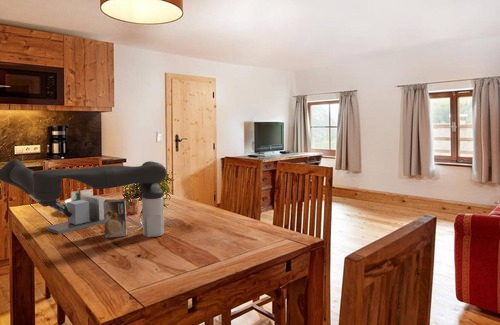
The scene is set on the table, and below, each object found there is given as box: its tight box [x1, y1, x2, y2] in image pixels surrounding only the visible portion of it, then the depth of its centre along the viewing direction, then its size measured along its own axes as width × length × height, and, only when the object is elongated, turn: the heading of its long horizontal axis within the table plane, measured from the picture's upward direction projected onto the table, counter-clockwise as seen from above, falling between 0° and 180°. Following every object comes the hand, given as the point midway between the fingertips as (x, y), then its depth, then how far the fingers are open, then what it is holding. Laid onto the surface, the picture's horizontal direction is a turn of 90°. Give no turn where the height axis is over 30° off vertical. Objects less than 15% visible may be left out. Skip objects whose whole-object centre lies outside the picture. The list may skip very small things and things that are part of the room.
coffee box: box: [103, 198, 128, 239], centre depth 157 cm, size 9×6×16 cm
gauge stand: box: [44, 188, 105, 235], centre depth 171 cm, size 24×12×16 cm, turn 145°
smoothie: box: [126, 200, 140, 216], centre depth 195 cm, size 8×8×20 cm
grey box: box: [67, 189, 90, 225], centre depth 172 cm, size 7×8×15 cm
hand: (70, 215), depth 169 cm, fingers closed
